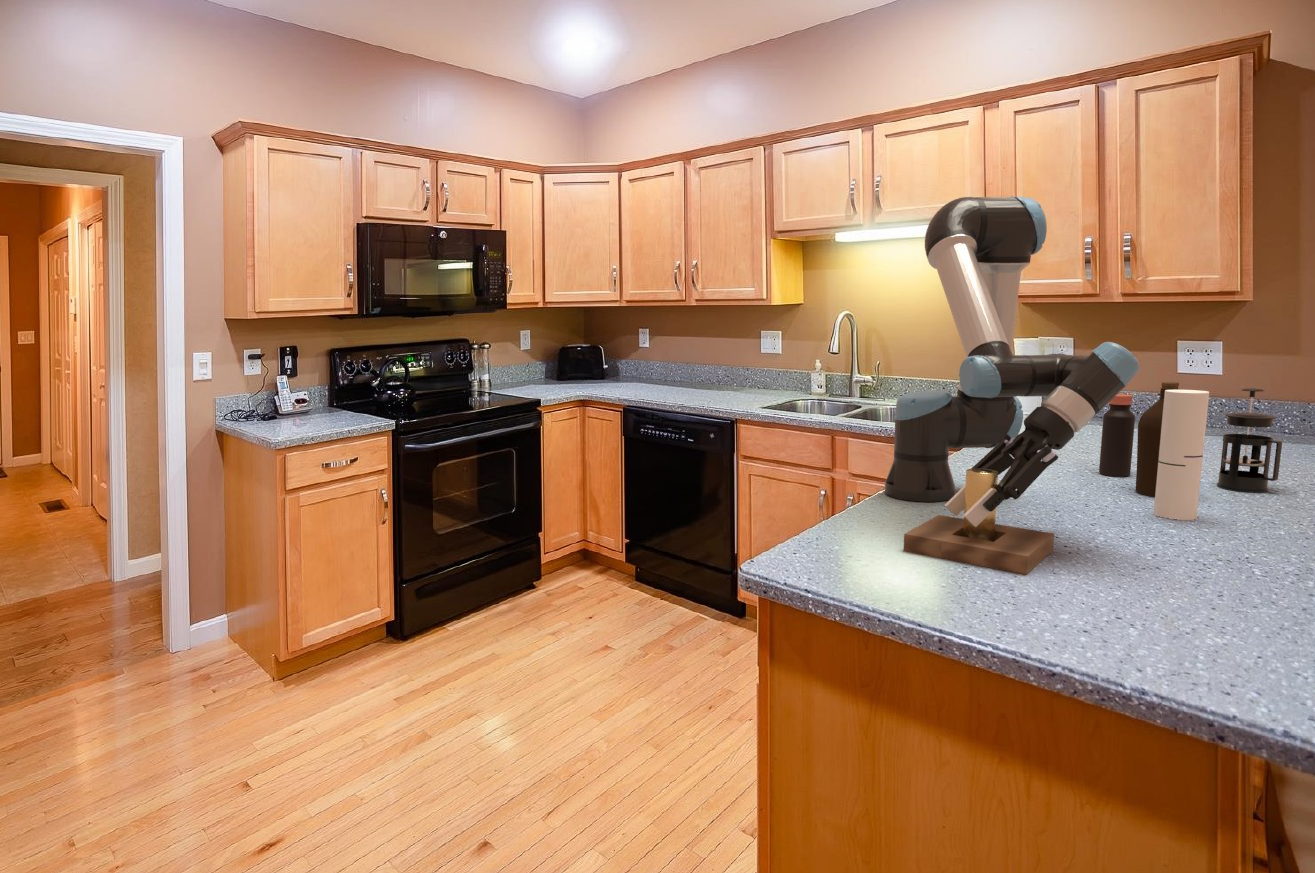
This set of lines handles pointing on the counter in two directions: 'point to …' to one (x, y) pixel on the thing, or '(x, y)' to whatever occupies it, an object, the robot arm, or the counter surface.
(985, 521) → the brass bushing
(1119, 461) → the bottle
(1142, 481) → the olive oil
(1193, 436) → the cylindrical container
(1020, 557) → the walnut jig plate
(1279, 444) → the french press
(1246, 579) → the counter surface
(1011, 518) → the counter surface
